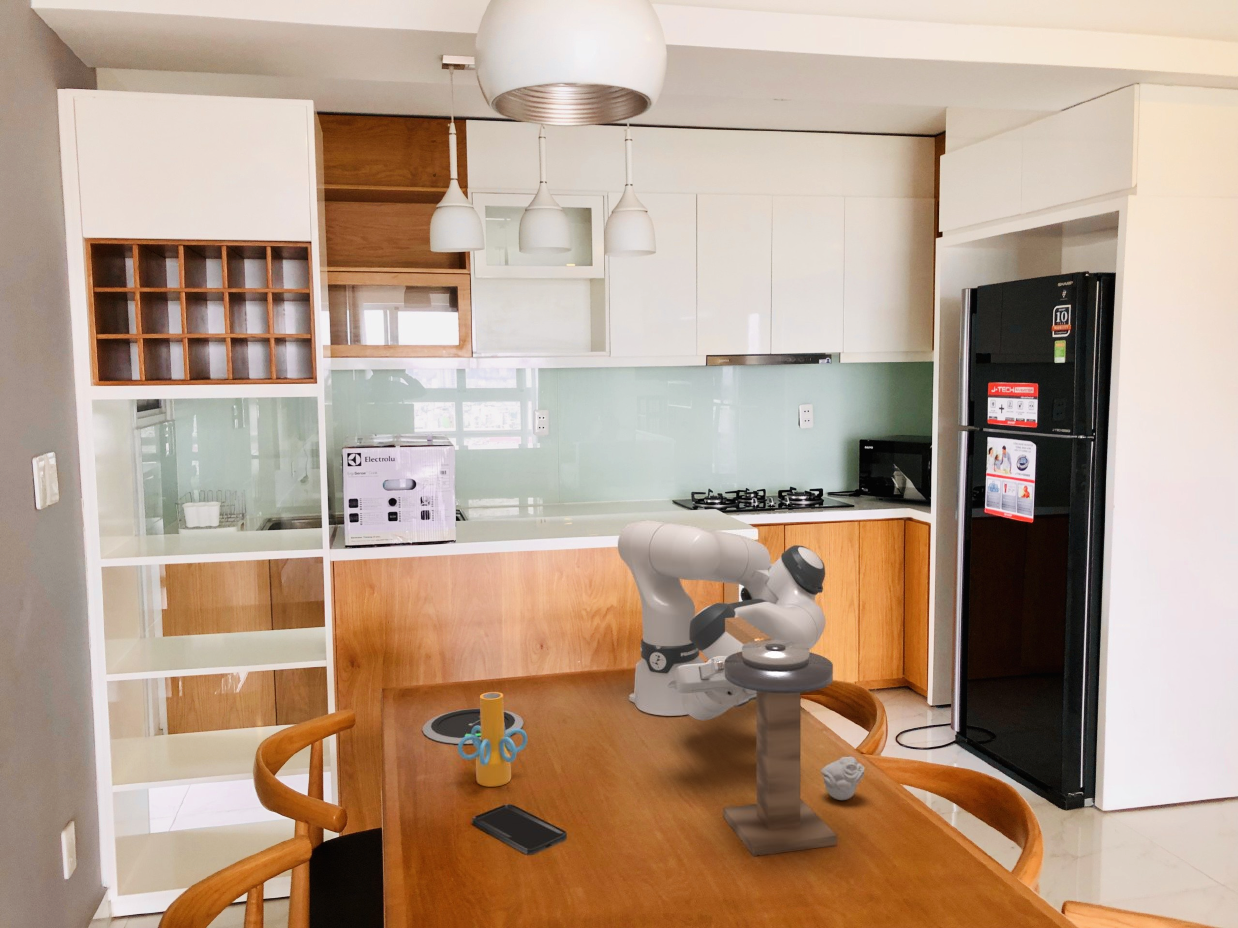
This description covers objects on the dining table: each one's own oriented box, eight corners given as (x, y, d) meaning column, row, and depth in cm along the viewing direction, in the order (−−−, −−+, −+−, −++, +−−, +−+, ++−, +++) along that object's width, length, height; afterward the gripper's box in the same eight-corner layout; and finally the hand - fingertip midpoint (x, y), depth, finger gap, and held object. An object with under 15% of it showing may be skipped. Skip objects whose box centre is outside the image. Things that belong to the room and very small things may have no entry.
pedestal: (711, 813, 151) (710, 652, 148) (805, 802, 154) (805, 644, 152) (747, 862, 135) (747, 683, 133) (851, 848, 139) (852, 674, 137)
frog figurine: (863, 809, 151) (864, 766, 151) (818, 804, 154) (819, 762, 153) (865, 793, 157) (865, 752, 157) (822, 788, 159) (822, 748, 159)
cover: (704, 632, 161) (704, 618, 161) (760, 628, 163) (760, 614, 163) (756, 673, 137) (756, 658, 137) (820, 668, 140) (820, 652, 139)
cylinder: (512, 797, 158) (509, 709, 156) (452, 792, 160) (450, 705, 158) (533, 768, 170) (531, 686, 168) (477, 764, 172) (475, 683, 170)
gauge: (525, 742, 183) (525, 737, 183) (419, 749, 180) (419, 744, 180) (521, 707, 202) (521, 703, 202) (425, 713, 200) (425, 709, 199)
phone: (509, 802, 154) (569, 832, 143) (509, 809, 154) (569, 840, 143) (468, 818, 148) (528, 851, 138) (468, 825, 149) (528, 858, 138)
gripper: (662, 669, 167) (682, 649, 155) (771, 660, 172) (799, 639, 160) (668, 705, 165) (688, 687, 152) (778, 695, 169) (807, 677, 157)
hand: (746, 663), depth 156 cm, fingers open, 8 cm apart
